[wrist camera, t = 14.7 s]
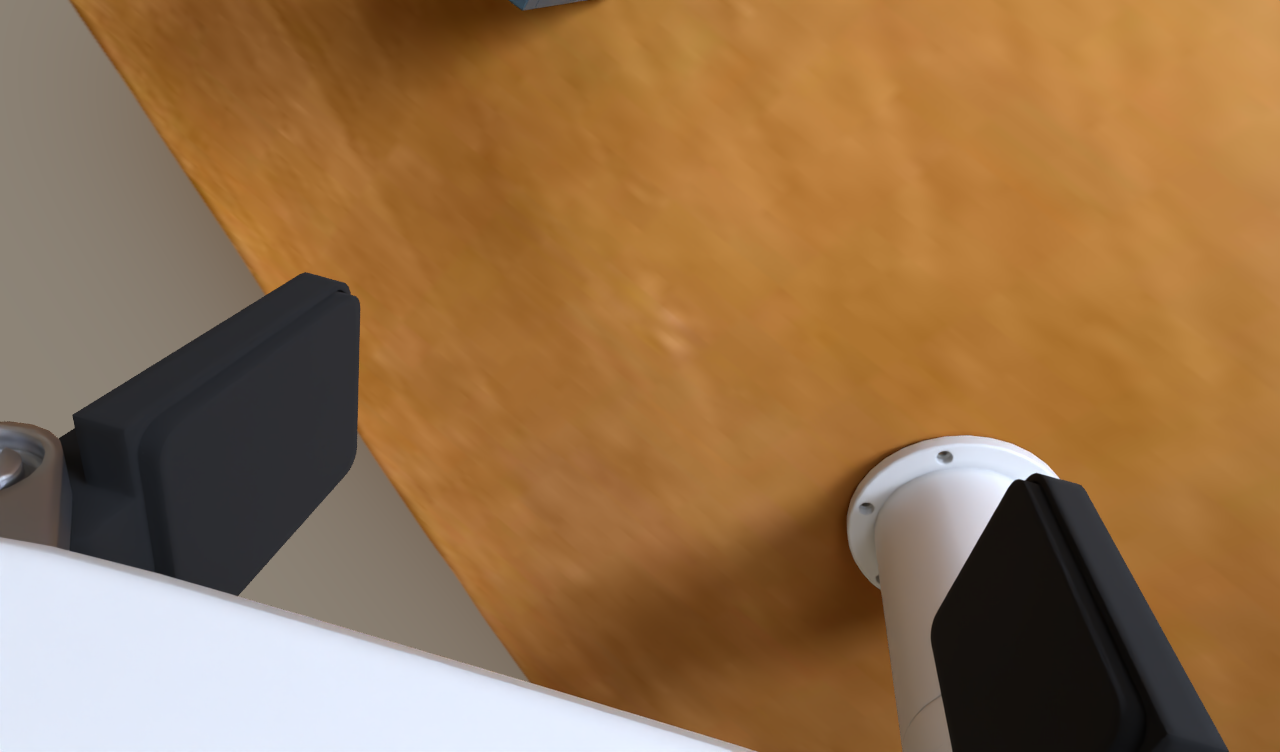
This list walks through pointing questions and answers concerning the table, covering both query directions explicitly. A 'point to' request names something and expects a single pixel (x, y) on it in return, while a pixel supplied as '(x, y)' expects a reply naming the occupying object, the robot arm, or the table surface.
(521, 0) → the shelf
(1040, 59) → the table surface
